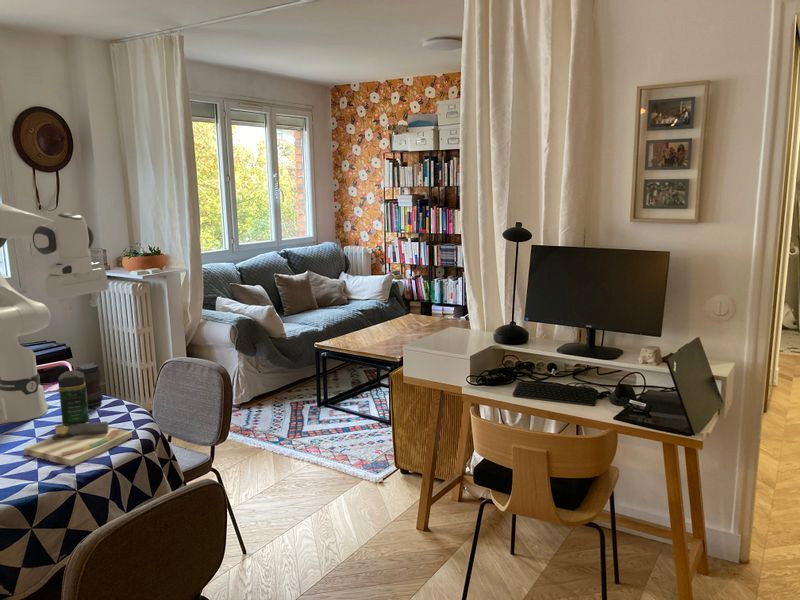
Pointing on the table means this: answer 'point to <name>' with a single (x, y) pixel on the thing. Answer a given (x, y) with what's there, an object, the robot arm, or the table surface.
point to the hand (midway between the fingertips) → (81, 308)
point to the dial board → (77, 446)
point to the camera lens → (92, 383)
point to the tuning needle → (81, 429)
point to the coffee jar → (73, 397)
